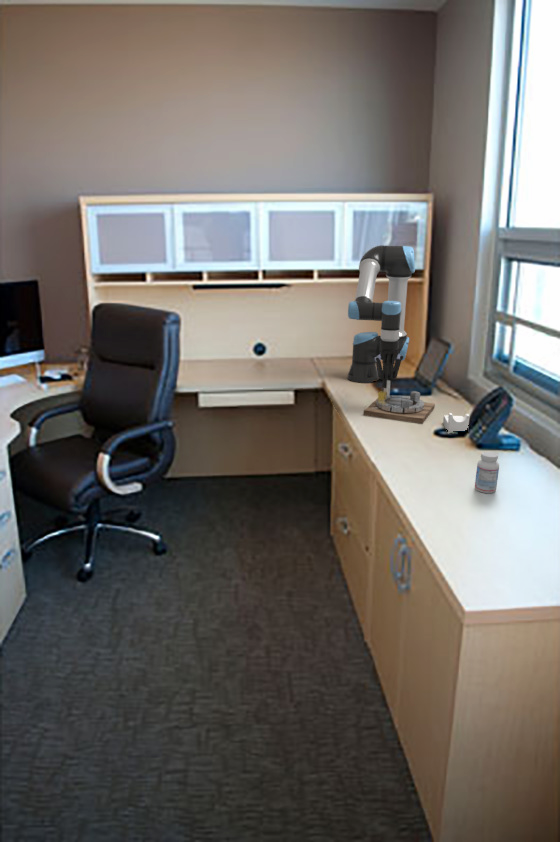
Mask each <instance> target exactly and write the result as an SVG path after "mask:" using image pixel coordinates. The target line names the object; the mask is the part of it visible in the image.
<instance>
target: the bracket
mask: <svg viewBox="0 0 560 842" xmlns="http://www.w3.org/2000/svg"><path fill="white" fill-rule="evenodd" d="M442 424H443V426H444V428H445V430H446V429H447V430H448V432H453V431H465V430H467V428H468V429H469V426H470V425H469V424H470V414H469V413H465V415H464V416H463V415H453V413H452V412H448V414H444V415H443V421H442ZM468 425H469V426H468ZM447 430H446V431H447ZM448 432H447V433H448Z"/></svg>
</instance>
